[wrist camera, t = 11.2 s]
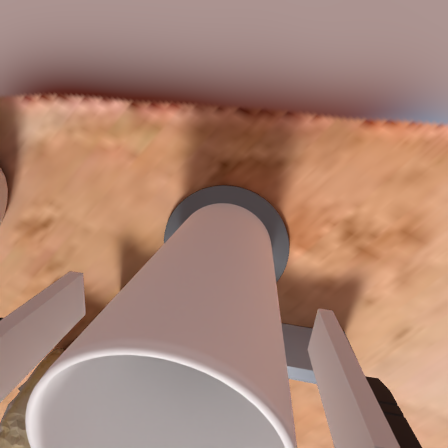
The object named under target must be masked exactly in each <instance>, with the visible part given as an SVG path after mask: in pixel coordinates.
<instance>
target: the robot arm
mask: <svg viewBox="0 0 448 448" xmlns="http://www.w3.org/2000/svg"><path fill="white" fill-rule="evenodd" d="M85 314H86V311H85V296H84V280H83V273H78V272H72V271H70V272H68V273H67V274H66V275H64V276H63V277H61V278H60V279H58V280H57V281H56V282H54V283H53V284H51V285H50V286H49V287H47V288H46V289H44V290H43V291H42V292H40V293H39V294H37V295H36V296H34V297H33V298H32V299H30V300H29V301H27V302H26V303H25V304H23V305H22V306H20V307H19V308H18V309H16V310H15V311H13V312H12V313H10V314H9V315H8V316H6V317H5V318H0V403H1V401H2V400H3V399H4V398H5V397H6V396H7V395H8V394H9V393H10V392H11V391H12V390H13V389H14V388H15V387H16V386H17V385H18V384H19V383H20V382H21V381H22V380H23V379H24V378H25V377H26V376H27V375H28V374H29V372H30V371H31V370H32V369H33V368H34V367H35V366H36V365H37V364H38V363H39V362H40V361H41V360H42V359H43V358H44V357H45V356H46V355H47V354H48V353H49V352H50V351H51V350H52V349H53V348H54V347H55V346H56V345H57V343H58V342H59V341H60V340H61V339H62V338H63V337H64V336H65V335H66V334H67V333H68V332H69V331H70V330H71V329H72V328H73V327H74V326H75V325H76V324H77V323H78V322H79V321H80V320H81V319H82V318H83V317H84V316H85ZM308 353H309V357H310V360H311V364H312V368H313V371H314V375H315V378H316V382H317V386H318V389H319V393H320V396H321V400H322V404H323V407H324V411H325V414H326V418H327V422H328V425H329V429H330V432H331V436H332V440H333V443H334V447H335V448H422V447H421V445H420V443H419V441H418V440H417V438H416V436H415V434H414V433H413V431H412V429H411V427H410V426H409V424H408V422H407V420H406V418H404V416H403V413H402V411H401V410H400V408H399V406H397V403H396V401H395V399H394V397H393V395H392V394H391V392H390V390H389V389H388V388H387V387H386V386H385V385H384V384H383V383H382V382H381V381H380V380H379V379H378V378H372V377H366V376H365V375H364V373H363V371H362V369H361V367H360V365H359V363H358V361H357V359H356V357H355V355H354V353H353V351H352V349H351V347H350V345H349V343H348V341H347V339H346V337H345V335H344V333H343V331H342V329H341V326H340V324H339V322H338V320H337V318H336V316H335V314H334V312H333V311H332V310H326V309H319V308H318V311H317V315H316V318H315V322H314V326H313V330H312V334H311V338H310V342H309V346H308Z"/></svg>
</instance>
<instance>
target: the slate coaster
mask: <svg viewBox="0 0 448 448" xmlns="http://www.w3.org/2000/svg"><path fill="white" fill-rule="evenodd" d="M217 203H228V204H234V205H237V206H240V207H243V208H245V209H247V210H249V211H250V212H252V213H253V214H254V215H255V216H257V217H258V218H259V219H260V221H261V222H262V223H263V224H264V226H265V227H266V229H267V231H268V234H269V236H270V240H271V246H272V254H273V262H274V269H275V277H276V282H277V281H278V280H279V278H280V277H281V275H282V274H283V272H284V269H285V267H286V264H287V261H288V256H289V239H288V234H287V231H286V228H285V225H284V223H283V221H282V219H281V217H280V215H279V214H278V212H277V211H276V210H275V209H274V207H273V206H272V205H271V204H270V203H269V202H267V201H266V200H265V199H264V198H262V197H261V196H259V195H258V194H256V193H254V192H252V191H250V190H247V189H244V188H241V187H236V186H226V185H222V186H213V187H208V188H205V189H202V190H199V191H197V192H195V193H193V194H191V195H190V196H189V197H187V198H186V199H184V200H183V201H182V202H181V203H180V204H179V205H178V206H177V207H176V209H175V210H174V211H173V213H172V215H171V216H170V218H169V220H168V223H167V226H166V230H165V235H164V243H165V242H166V241H167V240H168V239H169V238H170V237H171V236H172V235H173V234H174V233H175V232H176V230H177V229H178V228H179V227H180V226H181V225H182V224H183V223H184V222H185V221H186V220H187V219H188V218H189V217H190V216H191V215H192V214H193V213H194V212H195V211H197V210H199V209H200V208H202V207H205V206H208V205H211V204H217Z"/></svg>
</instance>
